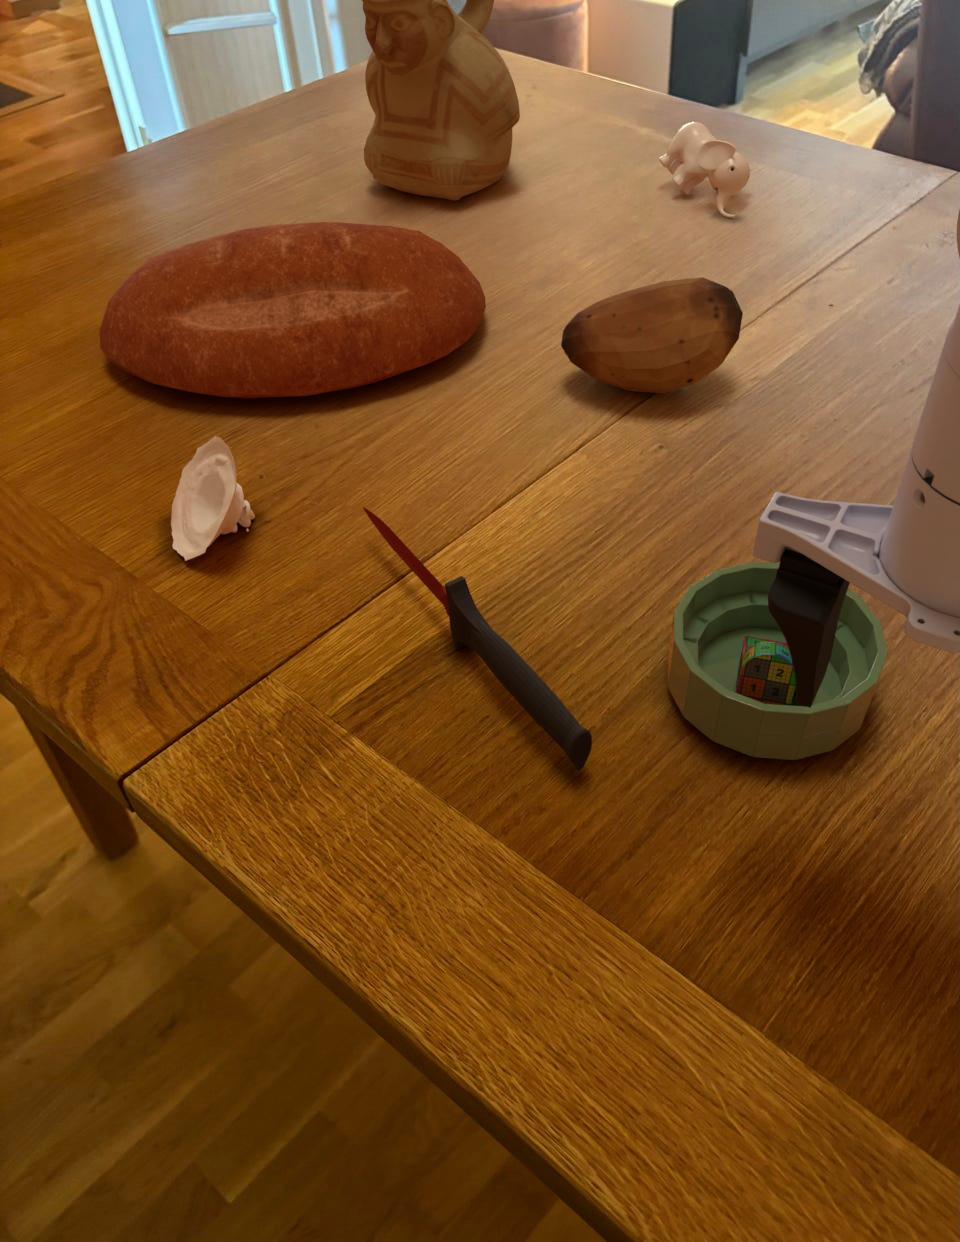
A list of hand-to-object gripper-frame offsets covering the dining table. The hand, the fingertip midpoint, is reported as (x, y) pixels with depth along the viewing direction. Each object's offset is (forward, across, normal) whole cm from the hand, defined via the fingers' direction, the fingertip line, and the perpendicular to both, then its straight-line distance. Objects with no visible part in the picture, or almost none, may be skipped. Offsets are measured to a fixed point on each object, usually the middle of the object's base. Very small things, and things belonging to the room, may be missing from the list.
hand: (898, 721), depth 44 cm
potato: (+10, -25, +33) cm, 43 cm away
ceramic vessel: (+10, -59, +60) cm, 85 cm away
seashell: (+10, -44, +4) cm, 45 cm away
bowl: (+10, -7, +8) cm, 15 cm away
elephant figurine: (+10, -33, +67) cm, 75 cm away
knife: (+10, -24, +3) cm, 26 cm away
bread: (+10, -54, +27) cm, 61 cm away
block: (+8, -6, +7) cm, 12 cm away
